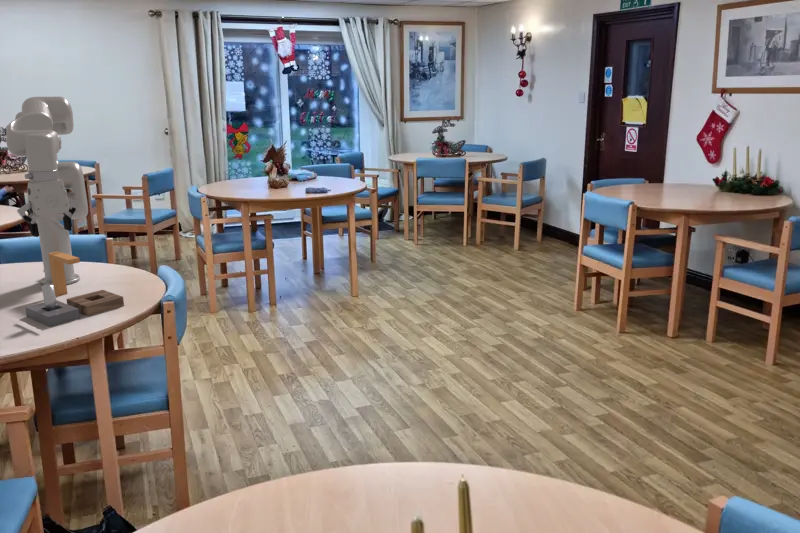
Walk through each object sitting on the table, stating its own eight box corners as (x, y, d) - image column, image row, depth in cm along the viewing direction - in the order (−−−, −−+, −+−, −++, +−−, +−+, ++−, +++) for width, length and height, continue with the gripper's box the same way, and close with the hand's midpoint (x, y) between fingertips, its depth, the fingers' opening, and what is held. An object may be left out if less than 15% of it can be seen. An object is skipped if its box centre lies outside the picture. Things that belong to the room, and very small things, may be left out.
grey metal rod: (45, 317, 205) (39, 286, 202) (56, 314, 207) (50, 283, 204) (50, 319, 203) (44, 287, 200) (61, 316, 205) (55, 285, 202)
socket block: (68, 311, 214) (66, 298, 212) (103, 301, 223) (102, 289, 222) (88, 319, 207) (86, 306, 205) (124, 308, 216) (123, 296, 215)
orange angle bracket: (53, 296, 227) (47, 253, 223) (63, 293, 230) (58, 251, 226) (74, 304, 219) (68, 260, 215) (85, 301, 222) (79, 257, 218)
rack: (27, 319, 206) (25, 307, 205) (56, 311, 213) (55, 299, 212) (50, 329, 198) (48, 316, 197) (80, 321, 205) (78, 308, 204)
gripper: (19, 181, 190) (28, 240, 195) (79, 174, 203) (86, 229, 208) (7, 178, 195) (16, 236, 200) (67, 171, 208) (74, 225, 213)
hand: (52, 232), depth 204 cm, fingers open, 9 cm apart
